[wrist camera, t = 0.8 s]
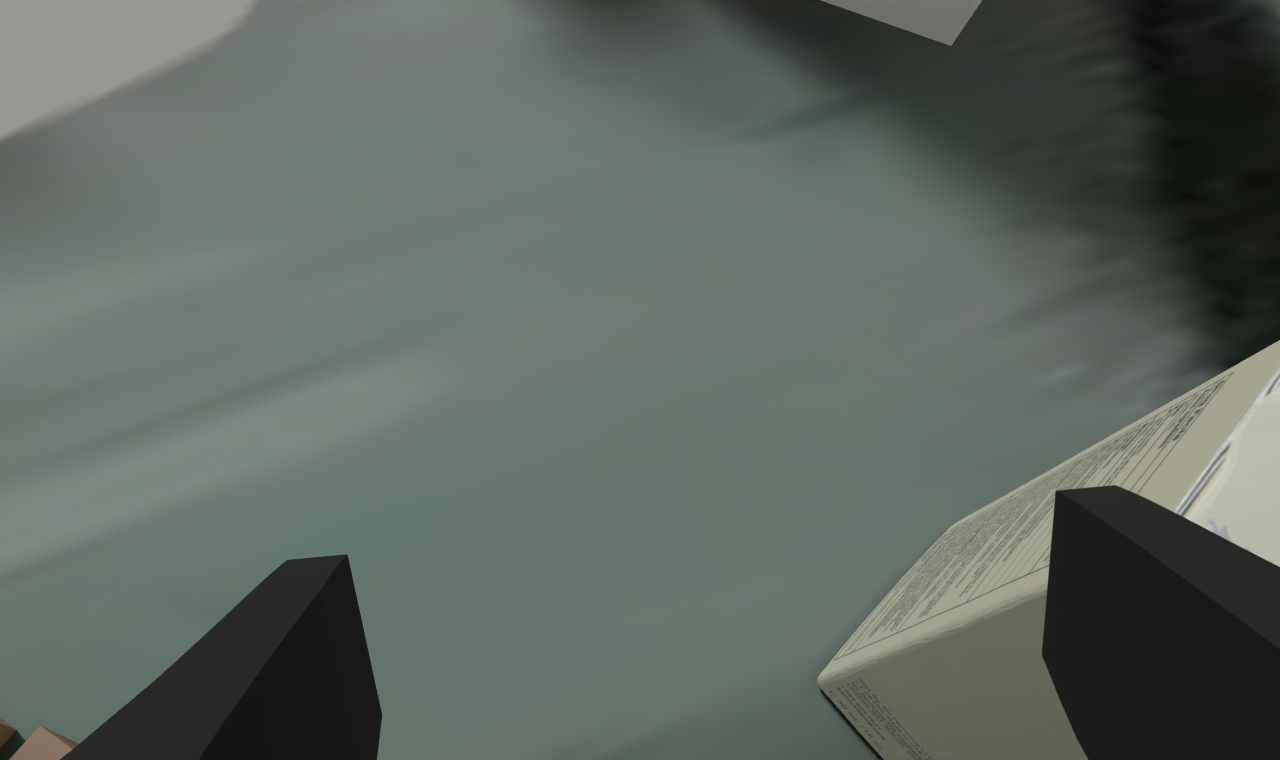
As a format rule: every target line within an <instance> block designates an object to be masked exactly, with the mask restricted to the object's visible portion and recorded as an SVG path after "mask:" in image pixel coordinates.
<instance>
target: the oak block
mask: <svg viewBox="0 0 1280 760" xmlns="http://www.w3.org/2000/svg"><path fill="white" fill-rule="evenodd" d="M15 731H16V729H15V728H13V727H12V726H11V725H9V724H8V723H7V722H5V721H4V720H2V719H1V718H0V748H1V747H2V746H3V744H4V743H5V742H6V741H7V740H8V739H9V738H10V737H11V736H12V735H13V733H14V732H15Z"/></svg>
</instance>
